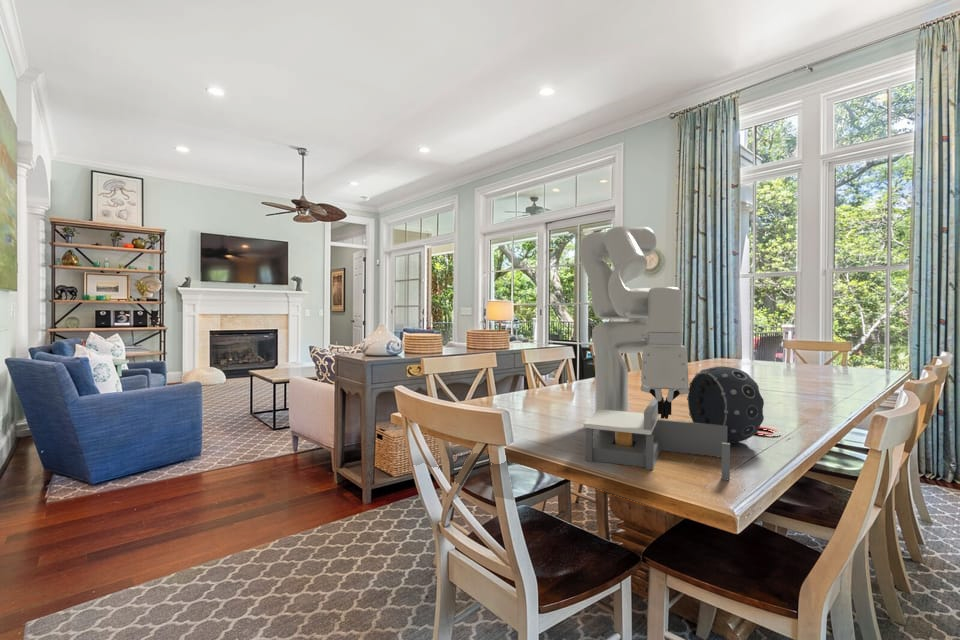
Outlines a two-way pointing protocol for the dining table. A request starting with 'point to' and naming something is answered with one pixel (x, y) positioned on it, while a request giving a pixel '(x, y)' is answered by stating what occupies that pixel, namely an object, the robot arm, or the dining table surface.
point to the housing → (661, 444)
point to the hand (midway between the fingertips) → (664, 417)
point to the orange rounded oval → (623, 438)
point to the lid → (625, 420)
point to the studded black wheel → (726, 401)
